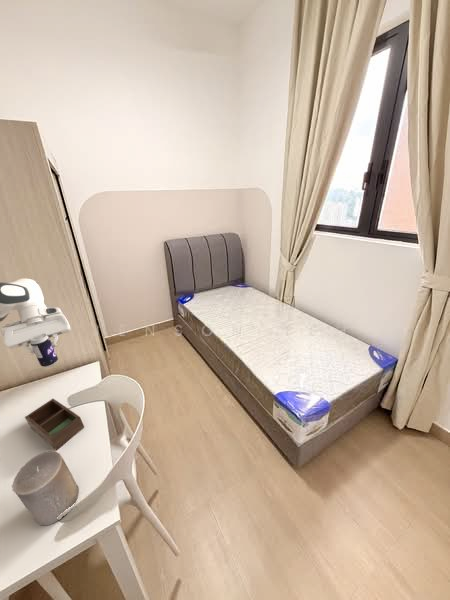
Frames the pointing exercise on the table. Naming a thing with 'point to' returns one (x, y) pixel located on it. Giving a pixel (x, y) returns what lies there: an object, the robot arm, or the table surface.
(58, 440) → the dark brown divided box
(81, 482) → the table surface
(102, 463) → the table surface
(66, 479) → the pillar candle
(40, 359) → the beverage can
